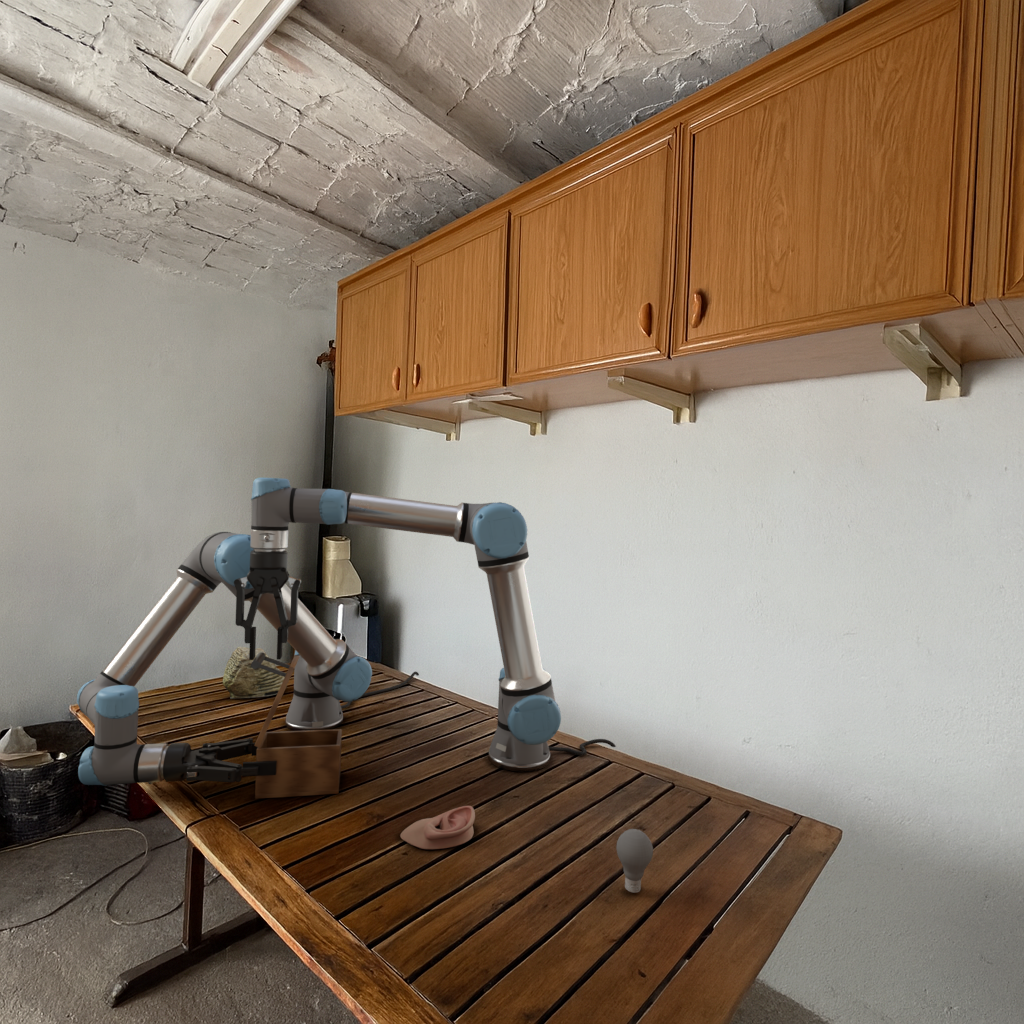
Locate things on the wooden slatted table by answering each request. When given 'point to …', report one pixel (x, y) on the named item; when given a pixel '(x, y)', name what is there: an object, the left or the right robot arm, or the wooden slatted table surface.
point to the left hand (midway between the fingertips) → (279, 757)
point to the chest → (300, 763)
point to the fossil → (250, 676)
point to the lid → (258, 664)
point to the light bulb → (634, 857)
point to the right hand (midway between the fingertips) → (265, 657)
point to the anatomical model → (442, 829)
